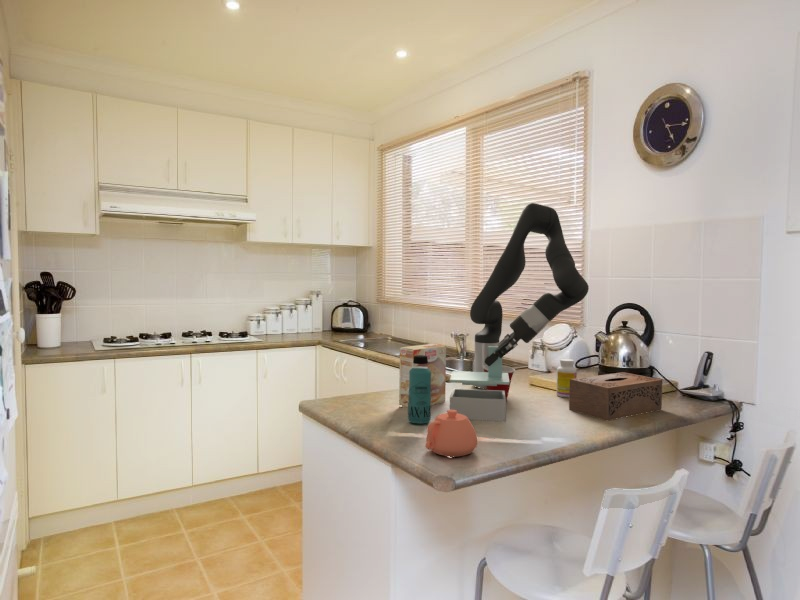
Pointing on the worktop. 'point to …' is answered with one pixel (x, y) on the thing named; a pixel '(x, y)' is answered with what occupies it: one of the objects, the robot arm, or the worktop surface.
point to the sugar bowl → (451, 435)
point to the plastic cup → (501, 386)
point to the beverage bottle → (419, 392)
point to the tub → (479, 404)
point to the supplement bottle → (565, 377)
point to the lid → (483, 374)
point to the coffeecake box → (435, 364)
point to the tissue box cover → (615, 395)
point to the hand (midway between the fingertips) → (486, 363)
